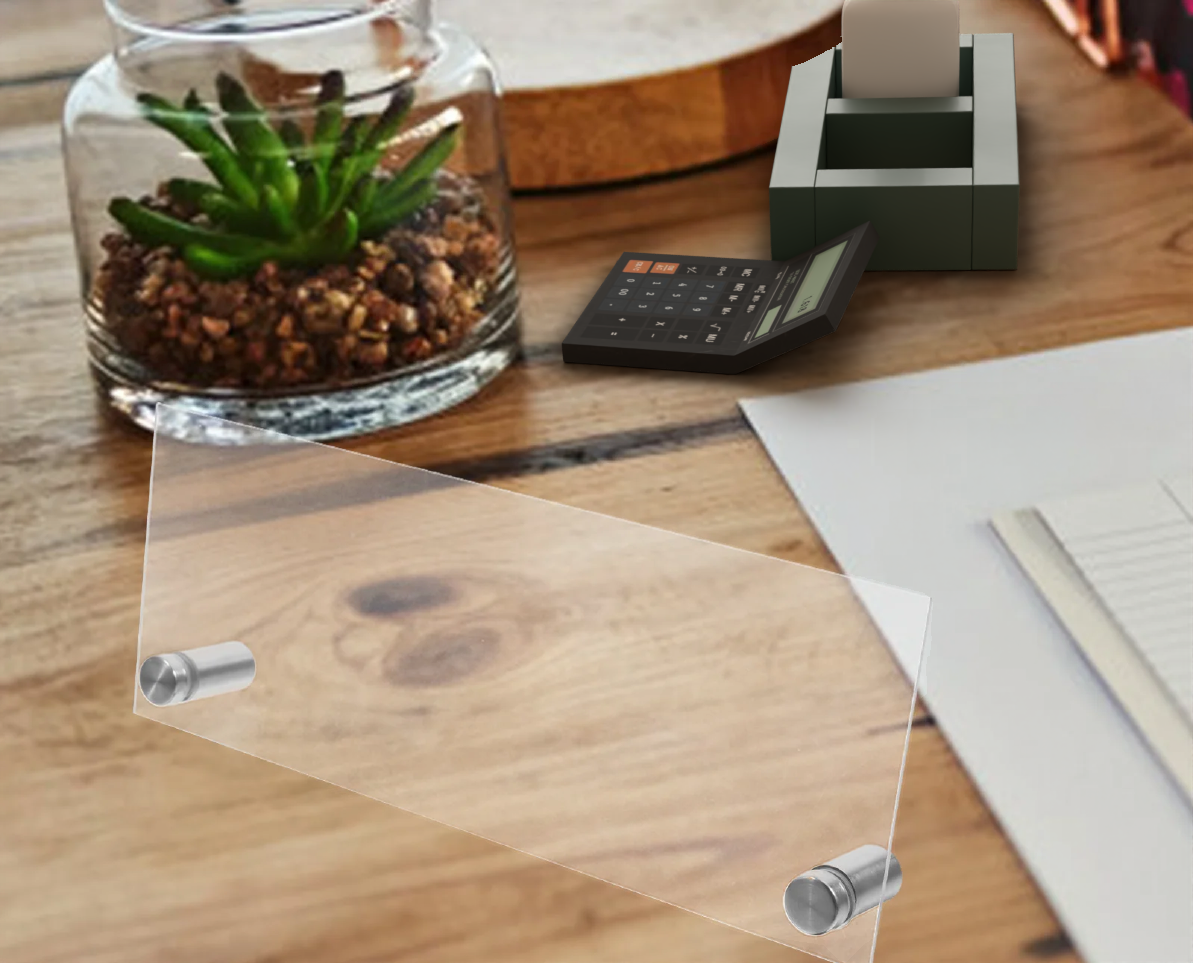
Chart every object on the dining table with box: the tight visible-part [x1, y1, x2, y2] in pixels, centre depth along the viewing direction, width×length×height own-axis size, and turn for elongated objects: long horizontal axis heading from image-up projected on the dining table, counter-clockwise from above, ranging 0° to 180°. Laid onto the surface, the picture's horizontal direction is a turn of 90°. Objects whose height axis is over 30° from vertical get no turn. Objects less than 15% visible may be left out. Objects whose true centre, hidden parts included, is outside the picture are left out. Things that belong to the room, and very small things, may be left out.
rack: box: [768, 32, 1021, 272], centre depth 110 cm, size 11×20×4 cm, turn 172°
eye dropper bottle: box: [841, 0, 961, 99], centre depth 112 cm, size 4×6×12 cm
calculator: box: [561, 221, 880, 375], centre depth 99 cm, size 9×12×3 cm
